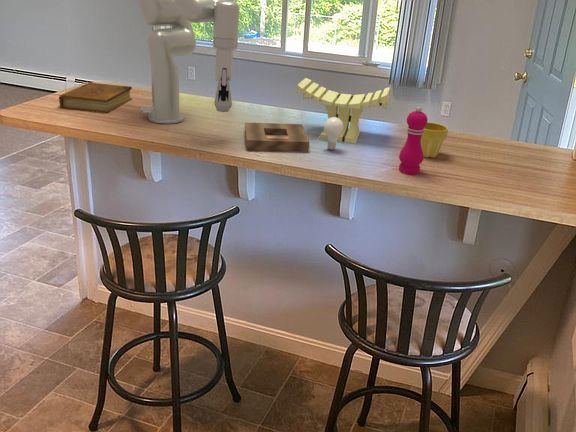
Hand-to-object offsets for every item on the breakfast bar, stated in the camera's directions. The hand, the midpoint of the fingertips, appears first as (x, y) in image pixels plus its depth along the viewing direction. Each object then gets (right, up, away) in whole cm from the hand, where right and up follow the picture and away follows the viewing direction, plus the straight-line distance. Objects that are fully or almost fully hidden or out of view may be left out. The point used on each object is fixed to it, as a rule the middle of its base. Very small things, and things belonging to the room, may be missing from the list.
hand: (223, 100), depth 186 cm
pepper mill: (+58, -24, -11) cm, 63 cm away
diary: (-53, +6, +37) cm, 65 cm away
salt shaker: (0, -3, +2) cm, 4 cm away
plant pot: (+67, -17, +5) cm, 70 cm away
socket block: (+17, -12, +7) cm, 22 cm away
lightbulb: (+35, -16, +3) cm, 39 cm away
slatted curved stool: (+40, -9, +19) cm, 45 cm away
